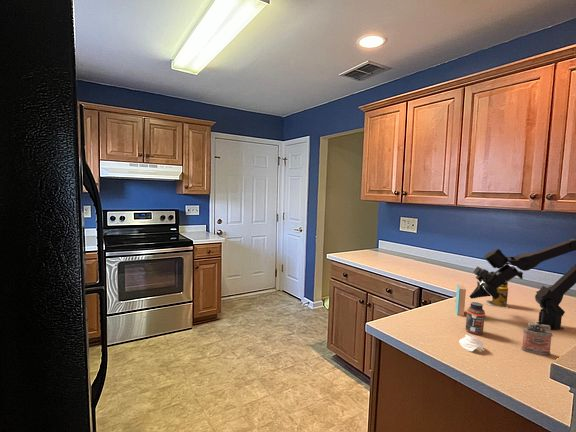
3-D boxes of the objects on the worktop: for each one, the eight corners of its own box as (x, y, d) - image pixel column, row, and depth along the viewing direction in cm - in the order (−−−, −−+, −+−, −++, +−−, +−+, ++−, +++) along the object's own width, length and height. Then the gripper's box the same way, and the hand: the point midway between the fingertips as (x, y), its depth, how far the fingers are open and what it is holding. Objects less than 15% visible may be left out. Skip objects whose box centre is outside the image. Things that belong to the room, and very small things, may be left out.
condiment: (508, 308, 149) (510, 283, 148) (487, 304, 154) (489, 280, 152) (506, 303, 156) (508, 280, 155) (486, 300, 160) (488, 277, 159)
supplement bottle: (476, 336, 119) (478, 307, 118) (461, 329, 125) (464, 301, 124) (486, 333, 122) (489, 305, 121) (472, 327, 127) (474, 300, 126)
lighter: (523, 351, 109) (525, 323, 108) (519, 347, 112) (522, 319, 111) (551, 356, 106) (555, 328, 105) (547, 352, 109) (550, 324, 108)
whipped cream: (454, 346, 113) (454, 332, 113) (469, 342, 115) (468, 329, 115) (473, 355, 106) (473, 341, 106) (489, 351, 108) (488, 337, 108)
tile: (461, 310, 145) (463, 285, 144) (463, 316, 138) (465, 289, 137) (455, 309, 146) (457, 284, 145) (457, 315, 139) (459, 288, 138)
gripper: (482, 257, 145) (454, 277, 150) (492, 266, 128) (459, 289, 133) (501, 276, 143) (471, 296, 148) (514, 288, 126) (479, 310, 131)
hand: (470, 297), depth 140 cm, fingers closed
